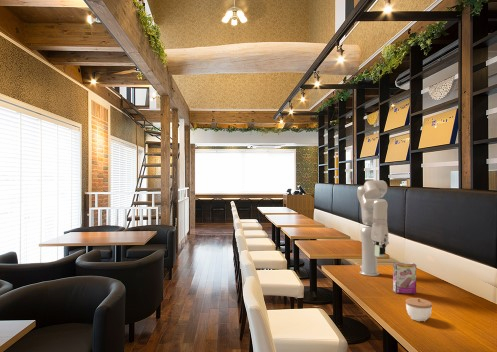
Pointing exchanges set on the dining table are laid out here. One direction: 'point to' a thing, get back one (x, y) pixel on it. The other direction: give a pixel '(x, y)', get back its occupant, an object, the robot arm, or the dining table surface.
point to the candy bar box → (404, 278)
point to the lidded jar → (418, 308)
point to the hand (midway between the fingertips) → (379, 253)
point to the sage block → (378, 251)
